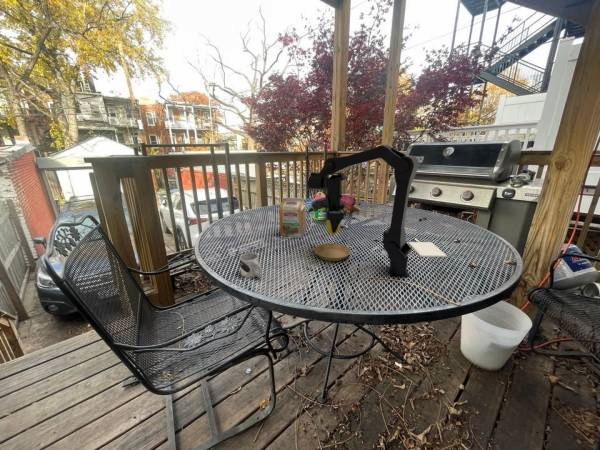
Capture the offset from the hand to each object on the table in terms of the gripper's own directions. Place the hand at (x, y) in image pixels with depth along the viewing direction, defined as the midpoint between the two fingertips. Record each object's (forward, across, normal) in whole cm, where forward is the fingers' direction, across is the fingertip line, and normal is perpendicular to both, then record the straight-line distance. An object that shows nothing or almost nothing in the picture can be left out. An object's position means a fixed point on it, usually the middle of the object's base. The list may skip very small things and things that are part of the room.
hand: (333, 230), depth 101 cm
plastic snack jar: (+11, -24, -18) cm, 32 cm away
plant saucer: (+11, 0, 0) cm, 11 cm away
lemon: (+2, 0, 0) cm, 2 cm away
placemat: (+11, -6, +40) cm, 42 cm away
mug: (+11, +17, -29) cm, 35 cm away
